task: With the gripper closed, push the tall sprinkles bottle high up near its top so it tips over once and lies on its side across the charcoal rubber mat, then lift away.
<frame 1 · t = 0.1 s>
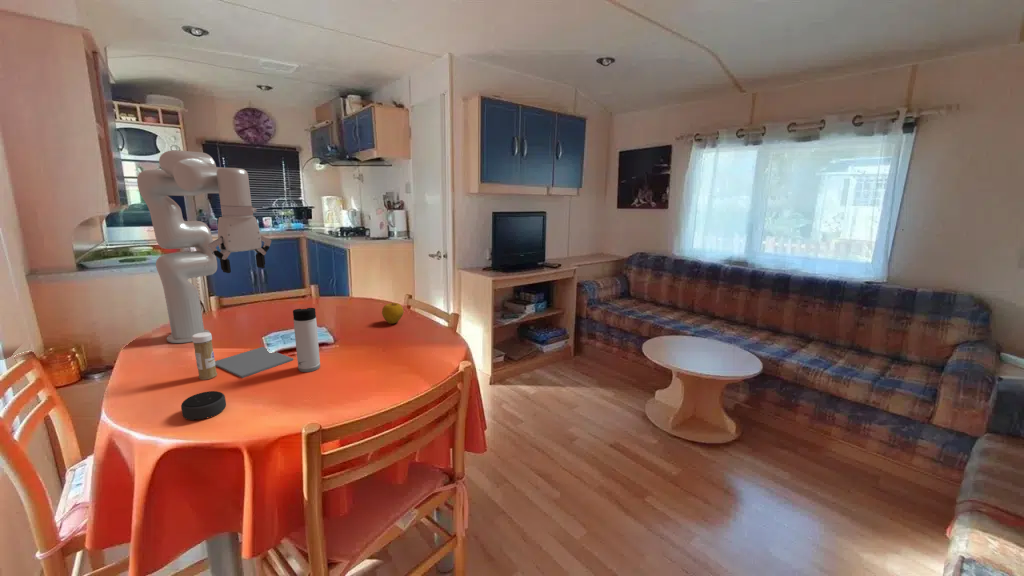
hand: (244, 269, 123), 31 cm above the table, tool pointing down, fingers open, 9 cm apart
sprinkles bottle: (208, 377, 122), on the table
rubber mat: (253, 362, 133), on the table
smart speaker: (205, 413, 104), on the table
travel mug: (309, 368, 130), on the table
apple: (393, 323, 176), on the table
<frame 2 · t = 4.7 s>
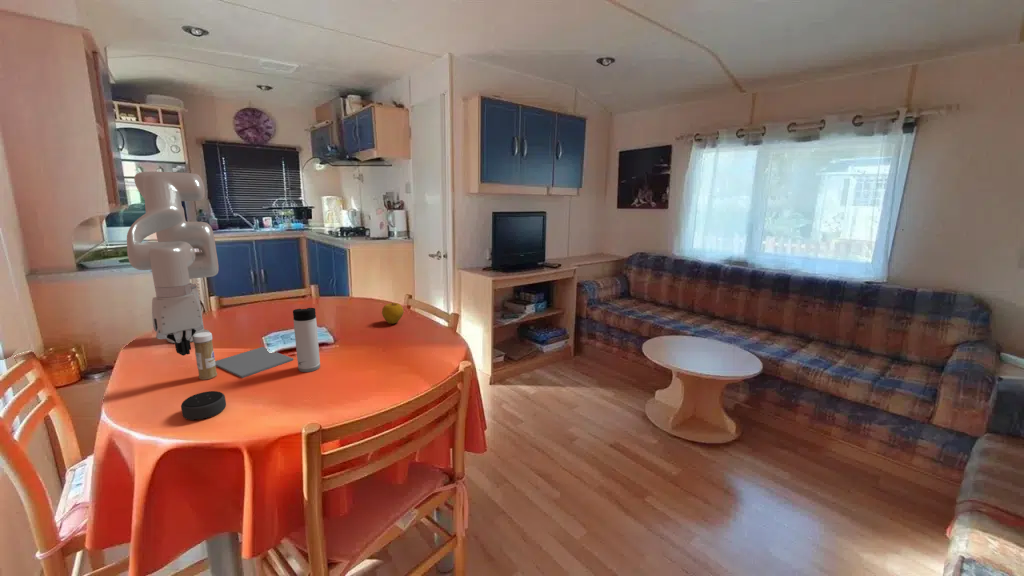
hand: (184, 353, 116), 9 cm above the table, tool pointing down, fingers closed
sprinkles bottle: (208, 377, 122), on the table, touching gripper
everything else where it was.
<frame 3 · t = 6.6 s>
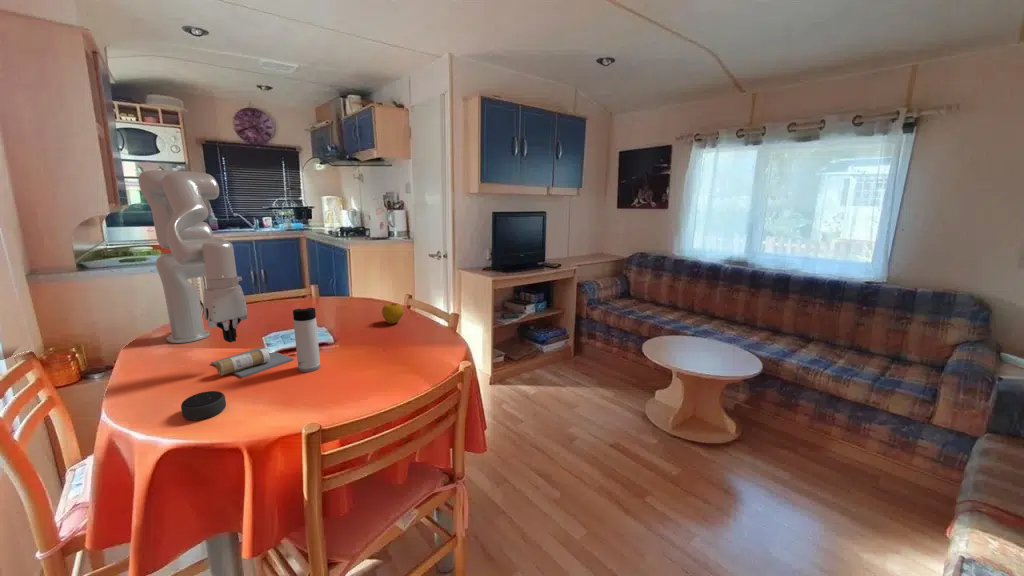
hand: (230, 340, 126), 9 cm above the table, tool pointing down, fingers closed
sprinkles bottle: (217, 368, 122), point 3 cm above the table, touching rubber mat
everything else where it was.
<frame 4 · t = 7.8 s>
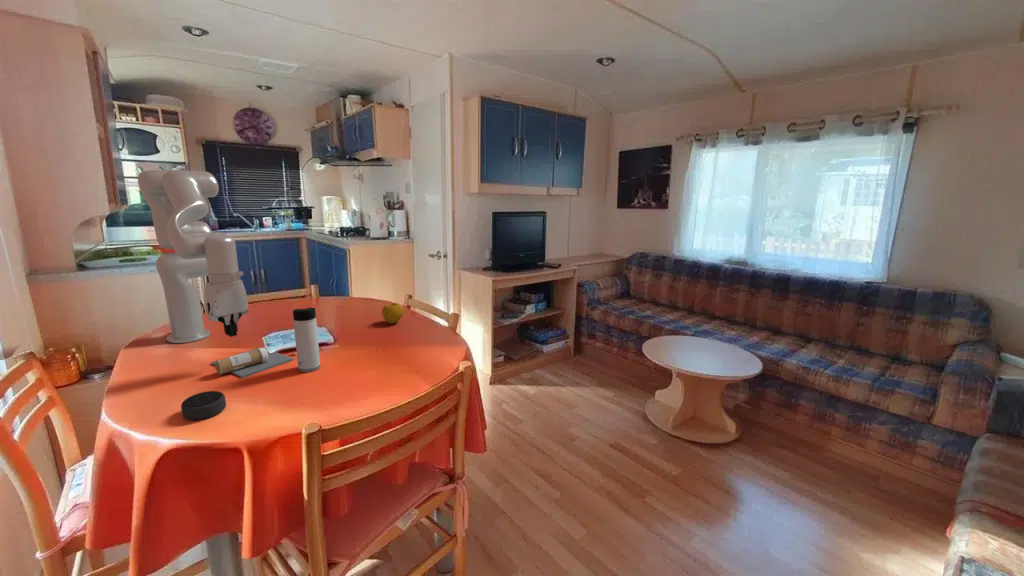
hand: (231, 335, 127), 11 cm above the table, tool pointing down, fingers closed
sprinkles bottle: (216, 367, 122), point 3 cm above the table, touching rubber mat
everything else where it was.
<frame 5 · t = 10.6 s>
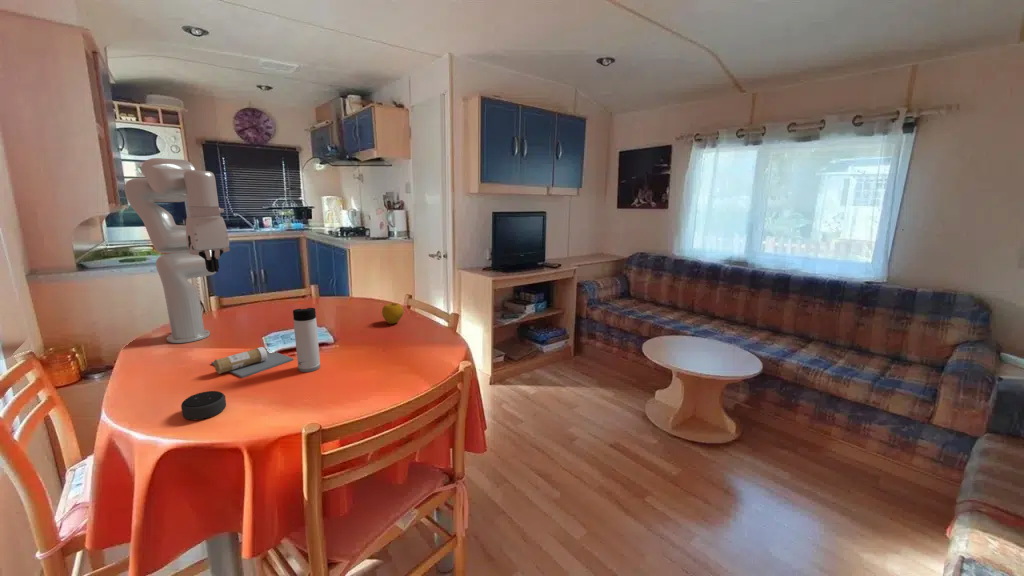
hand: (213, 271, 129), 29 cm above the table, tool pointing down, fingers closed
at the end: sprinkles bottle tilted 89°; sprinkles bottle touching rubber mat; sprinkles bottle inside the target area (6.8 cm from its centre), point 2.7 cm above the table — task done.
